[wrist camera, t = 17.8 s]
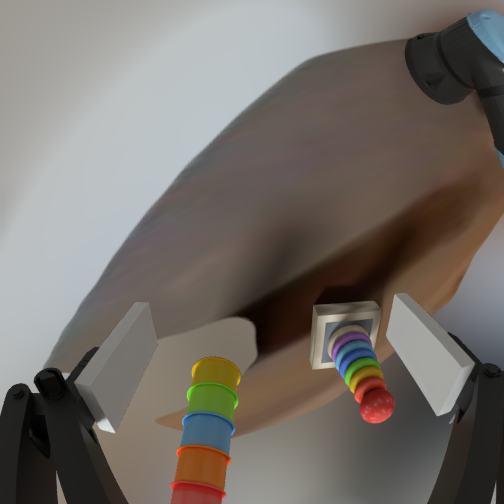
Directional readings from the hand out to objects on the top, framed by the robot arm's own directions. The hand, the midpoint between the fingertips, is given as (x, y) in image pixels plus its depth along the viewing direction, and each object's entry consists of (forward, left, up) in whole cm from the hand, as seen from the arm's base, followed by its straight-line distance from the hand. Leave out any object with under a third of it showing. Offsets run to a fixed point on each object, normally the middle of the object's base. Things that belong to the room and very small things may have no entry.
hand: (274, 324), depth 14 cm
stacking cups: (+10, +32, -32) cm, 46 cm away
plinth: (-15, +22, -32) cm, 41 cm away
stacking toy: (-15, +22, -28) cm, 38 cm away
